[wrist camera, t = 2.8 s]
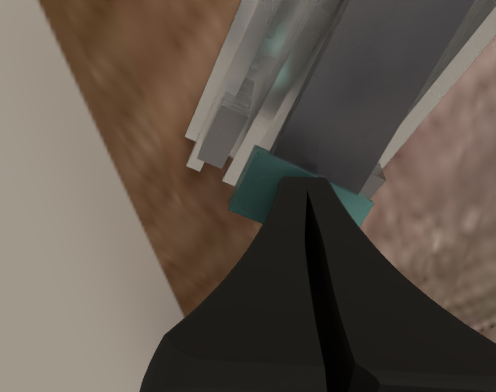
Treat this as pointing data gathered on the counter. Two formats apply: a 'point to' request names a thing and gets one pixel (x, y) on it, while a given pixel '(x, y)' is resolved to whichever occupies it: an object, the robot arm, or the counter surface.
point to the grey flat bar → (352, 100)
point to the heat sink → (300, 79)
